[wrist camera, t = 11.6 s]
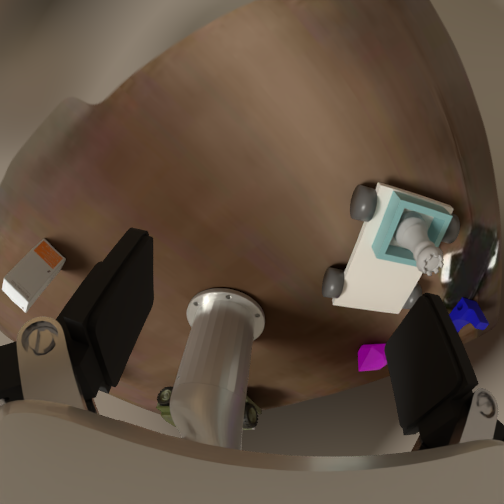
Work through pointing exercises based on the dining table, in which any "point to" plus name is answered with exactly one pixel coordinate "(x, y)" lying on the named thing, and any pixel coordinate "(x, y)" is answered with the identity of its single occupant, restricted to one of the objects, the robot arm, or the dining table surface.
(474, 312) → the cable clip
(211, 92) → the dining table surface
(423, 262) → the rook chess piece
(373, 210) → the chassis
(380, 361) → the crystal
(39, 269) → the skincare box
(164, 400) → the toy jeep
